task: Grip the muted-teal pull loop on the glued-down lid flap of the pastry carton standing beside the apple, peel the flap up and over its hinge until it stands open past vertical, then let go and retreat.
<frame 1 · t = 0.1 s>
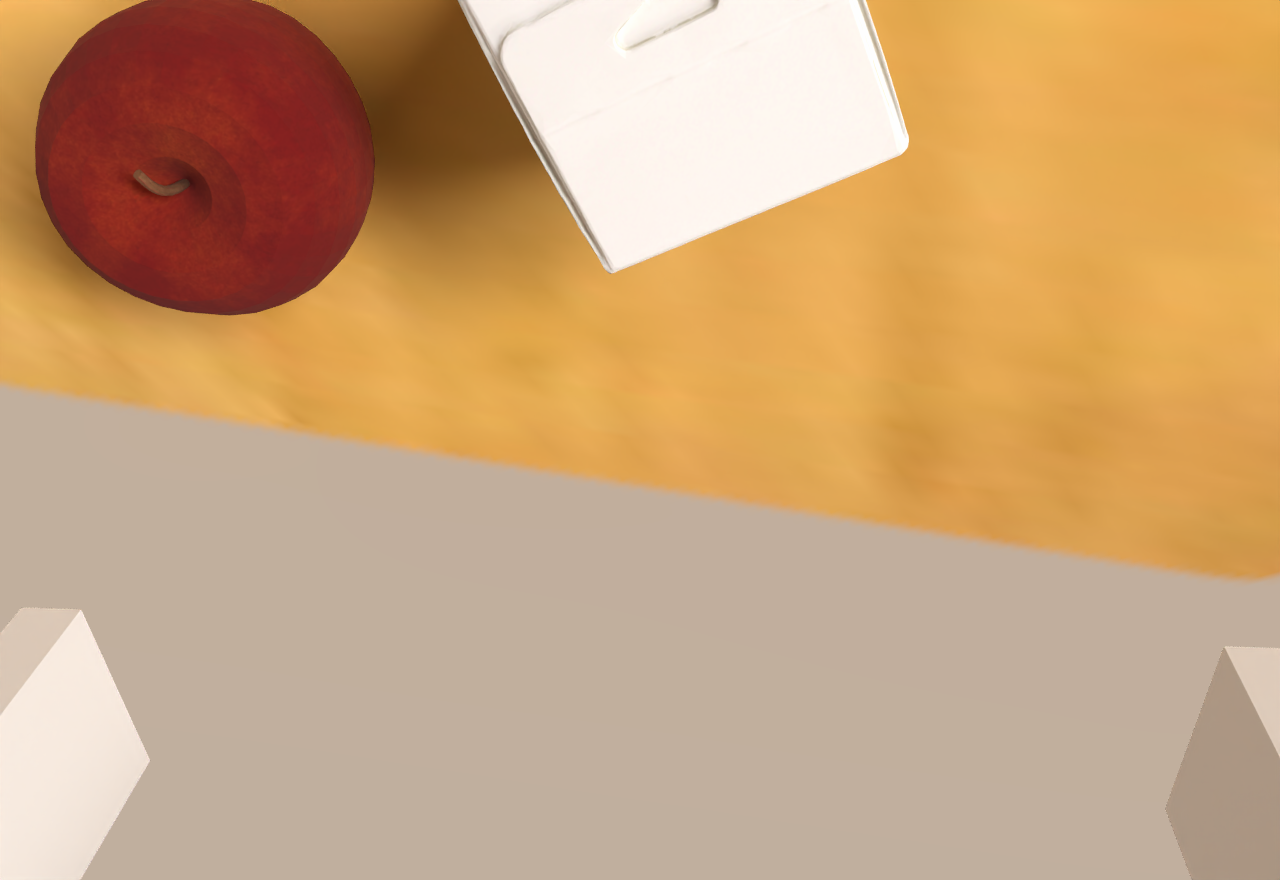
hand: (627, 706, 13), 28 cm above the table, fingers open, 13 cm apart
apple: (285, 103, 38), on the table
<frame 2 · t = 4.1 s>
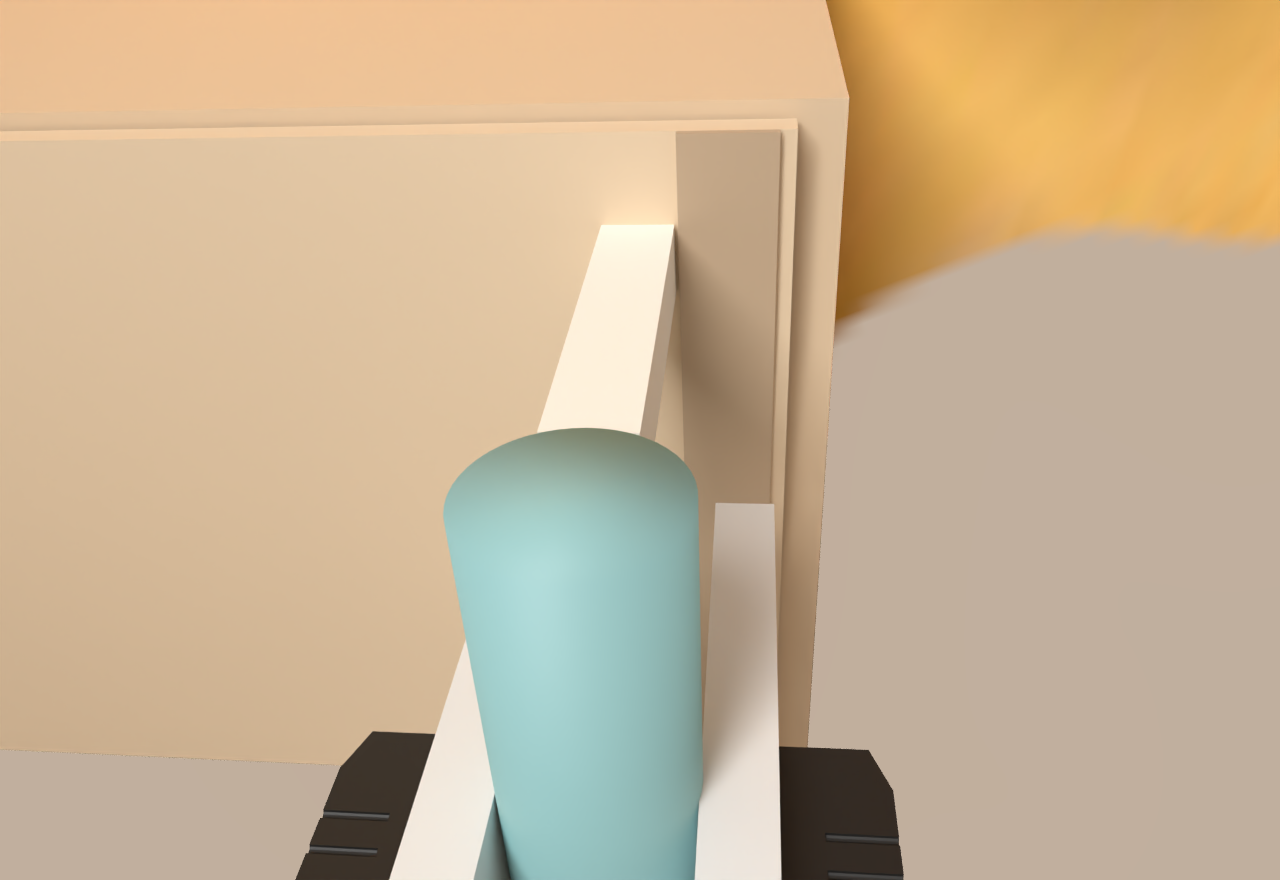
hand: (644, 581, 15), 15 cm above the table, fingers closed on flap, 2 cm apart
carton: (482, 191, 27), on the table
flap: (189, 664, 14), point 17 cm above the table, hinge at 0.0°, touching gripper
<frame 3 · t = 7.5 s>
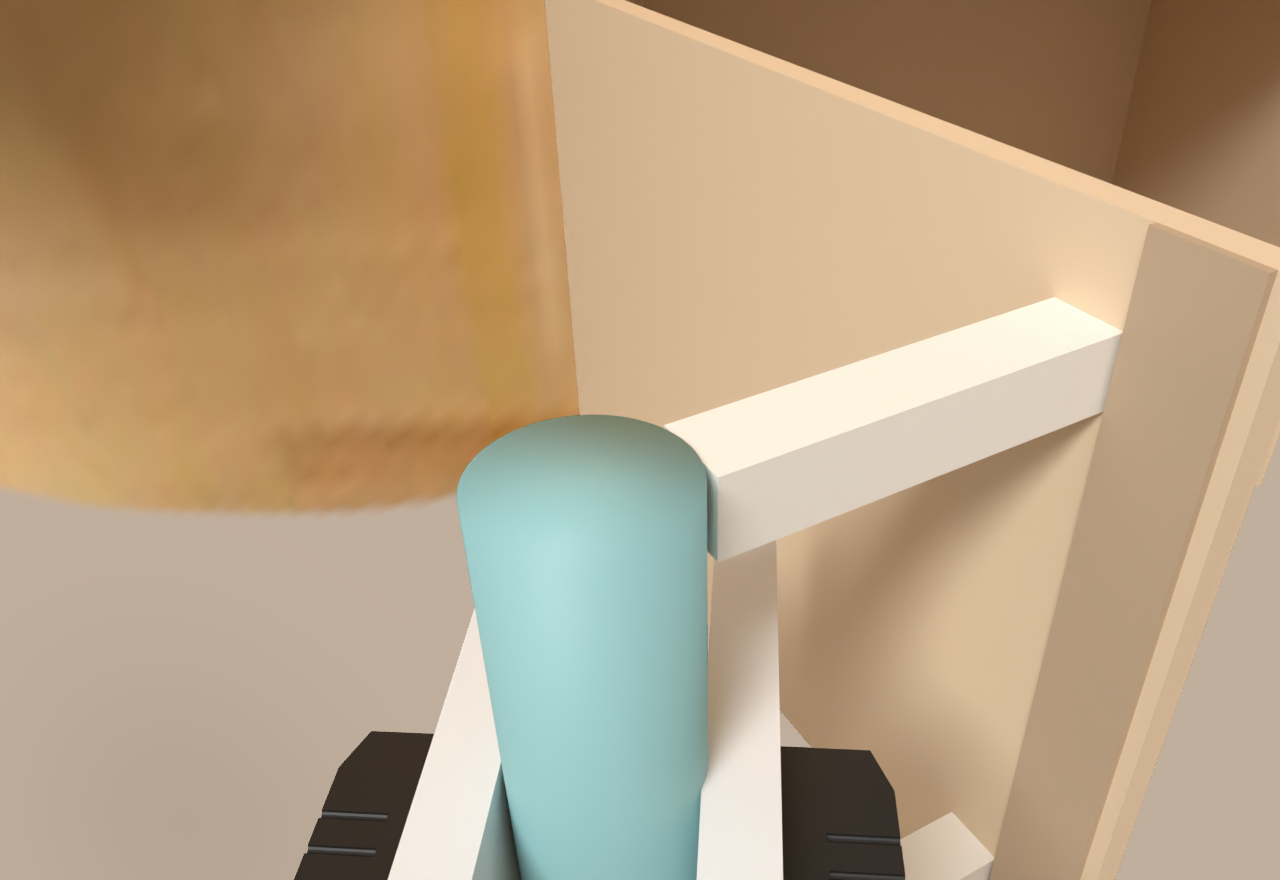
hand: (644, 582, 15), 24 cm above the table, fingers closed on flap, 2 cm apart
carton: (884, 82, 33), on the table
flap: (591, 489, 16), point 22 cm above the table, hinge at 57.4°, touching gripper
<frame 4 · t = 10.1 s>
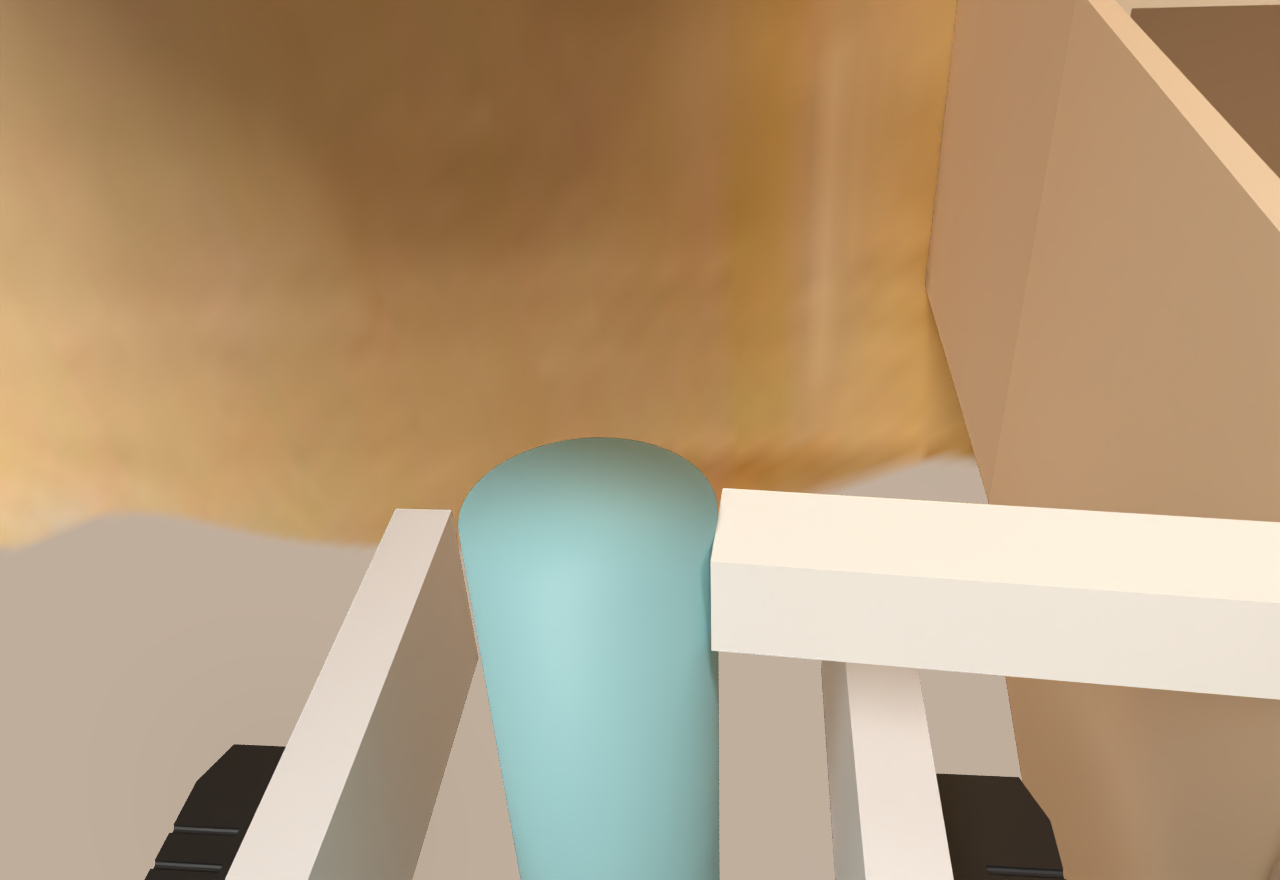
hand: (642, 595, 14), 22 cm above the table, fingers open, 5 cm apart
carton: (1227, 97, 31), on the table
flap: (865, 538, 15), point 21 cm above the table, hinge at 94.1°, touching gripper
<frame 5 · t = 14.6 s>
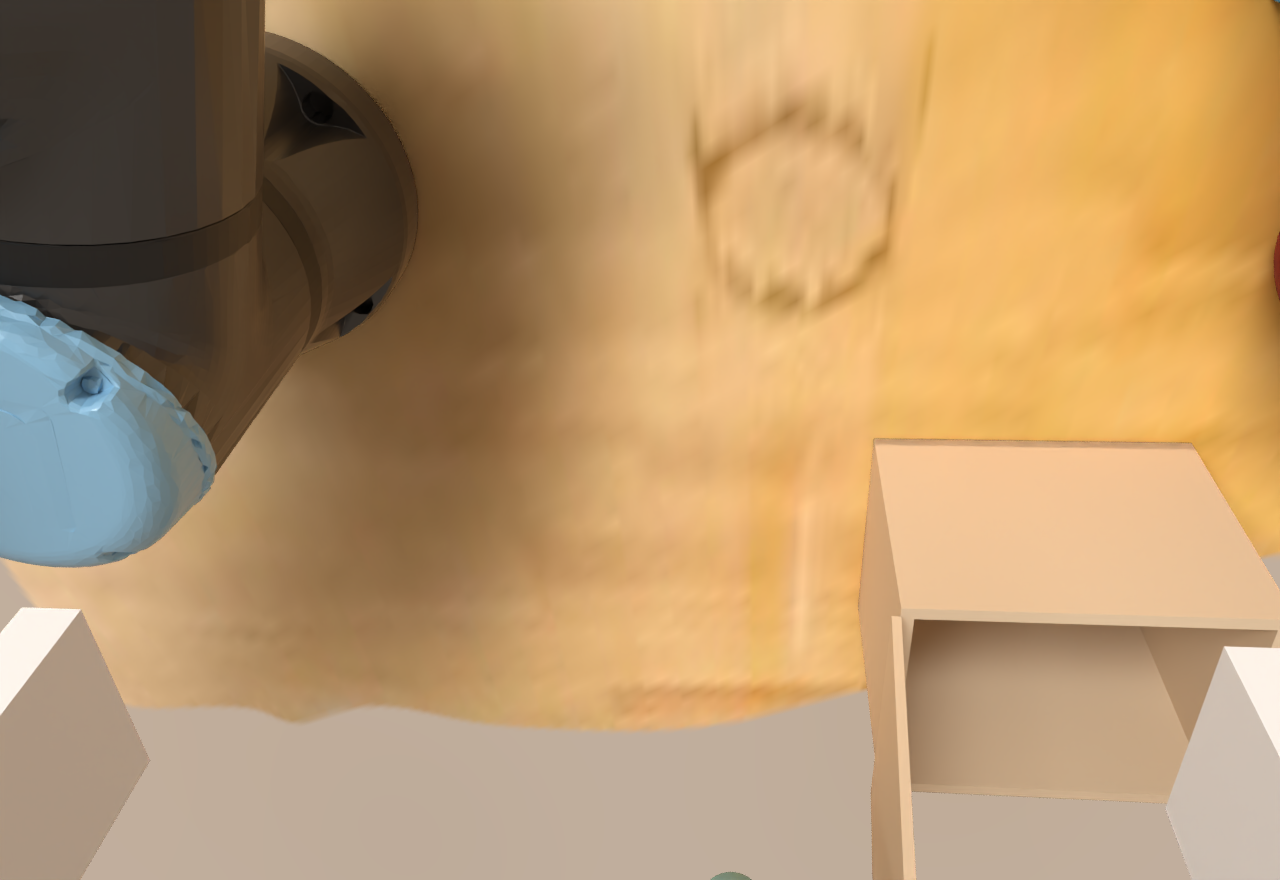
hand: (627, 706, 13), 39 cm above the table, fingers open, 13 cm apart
carton: (1012, 531, 59), on the table
flap: (806, 846, 43), point 21 cm above the table, hinge at 94.0°
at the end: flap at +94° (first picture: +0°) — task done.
